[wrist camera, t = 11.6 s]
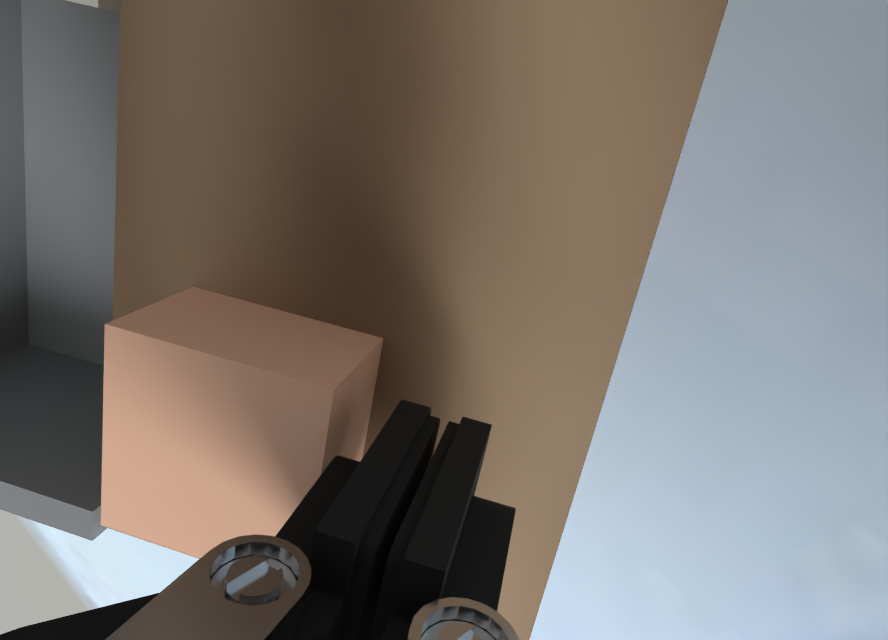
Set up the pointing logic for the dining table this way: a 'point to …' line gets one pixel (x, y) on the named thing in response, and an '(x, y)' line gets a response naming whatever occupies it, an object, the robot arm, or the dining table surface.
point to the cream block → (101, 4)
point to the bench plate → (420, 200)
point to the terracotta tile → (225, 416)
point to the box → (55, 255)
